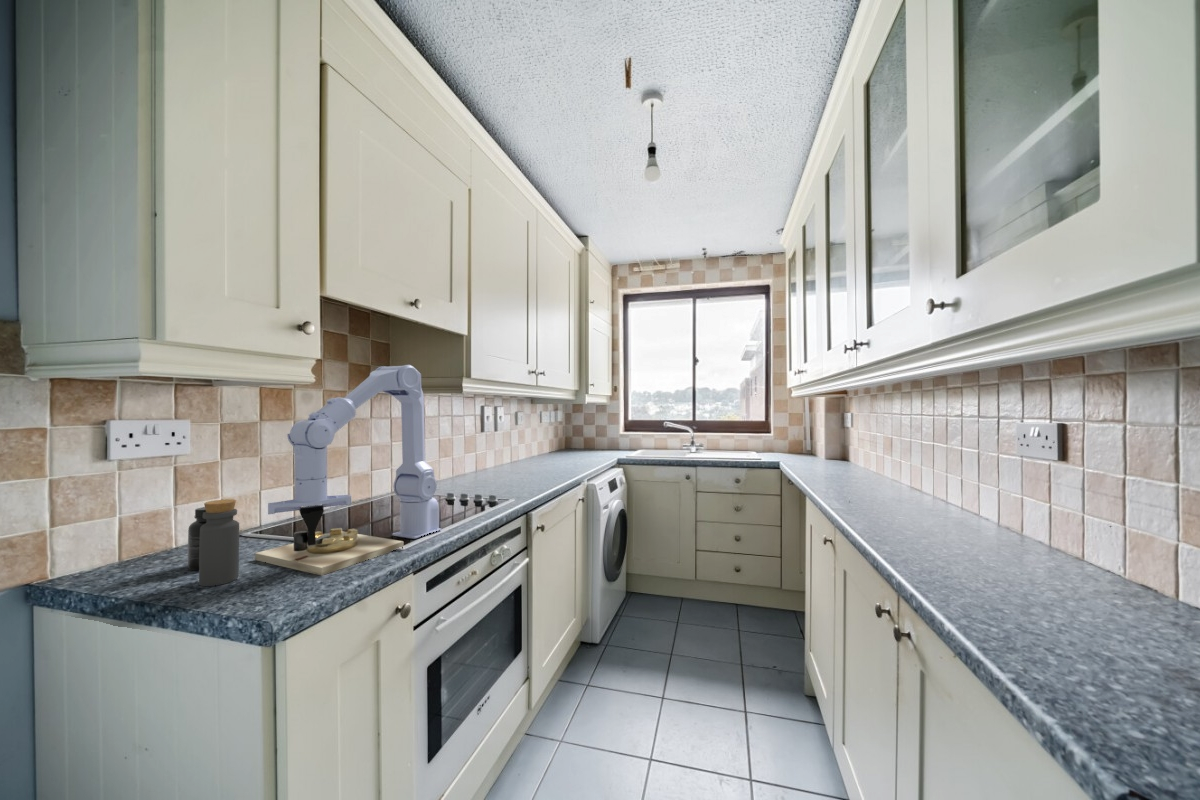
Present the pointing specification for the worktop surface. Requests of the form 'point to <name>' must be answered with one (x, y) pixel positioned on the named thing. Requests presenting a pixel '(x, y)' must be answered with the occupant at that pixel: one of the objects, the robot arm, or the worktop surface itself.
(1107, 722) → the worktop surface
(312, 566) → the base board
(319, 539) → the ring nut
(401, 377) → the robot arm
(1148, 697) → the worktop surface
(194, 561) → the supplement bottle
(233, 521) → the bottle
